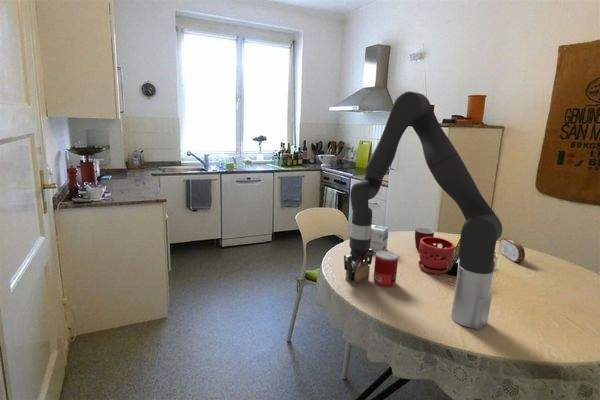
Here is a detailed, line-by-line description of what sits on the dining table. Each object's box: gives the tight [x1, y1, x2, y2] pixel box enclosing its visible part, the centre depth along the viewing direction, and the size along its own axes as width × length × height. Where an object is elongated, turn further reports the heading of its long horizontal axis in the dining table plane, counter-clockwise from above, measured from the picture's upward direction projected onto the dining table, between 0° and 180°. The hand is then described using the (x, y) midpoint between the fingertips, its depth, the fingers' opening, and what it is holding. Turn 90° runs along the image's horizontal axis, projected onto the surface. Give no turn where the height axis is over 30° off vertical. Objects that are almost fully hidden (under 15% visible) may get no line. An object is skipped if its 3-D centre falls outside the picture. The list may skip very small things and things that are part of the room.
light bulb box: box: [370, 224, 389, 253], centre depth 163 cm, size 11×7×11 cm, turn 58°
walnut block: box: [345, 262, 371, 286], centre depth 132 cm, size 6×6×6 cm
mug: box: [414, 227, 435, 253], centre depth 164 cm, size 11×8×10 cm
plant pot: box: [417, 236, 456, 275], centre depth 143 cm, size 13×13×12 cm
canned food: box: [373, 250, 399, 288], centre depth 130 cm, size 8×8×11 cm
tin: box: [498, 237, 526, 263], centre depth 158 cm, size 15×3×8 cm, turn 2°
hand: (357, 278), depth 132 cm, fingers closed on walnut block, 6 cm apart
